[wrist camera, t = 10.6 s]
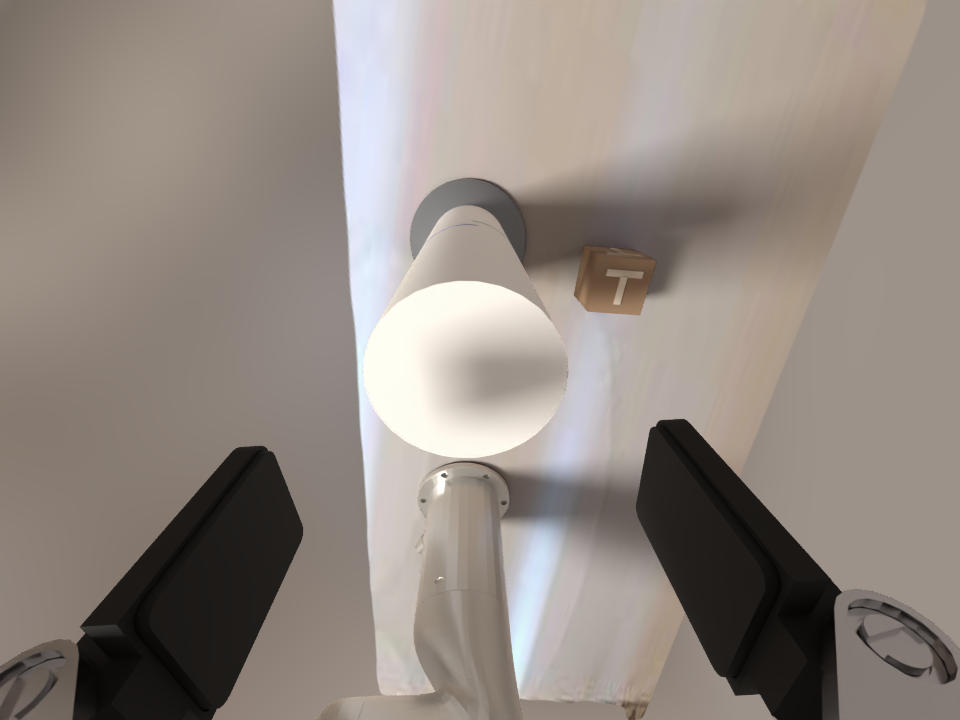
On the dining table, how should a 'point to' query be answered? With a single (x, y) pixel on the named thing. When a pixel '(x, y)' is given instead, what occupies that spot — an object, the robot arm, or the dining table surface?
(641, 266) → the wooden letter cube
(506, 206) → the charcoal mat
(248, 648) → the robot arm
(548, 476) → the dining table surface
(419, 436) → the cylindrical container
